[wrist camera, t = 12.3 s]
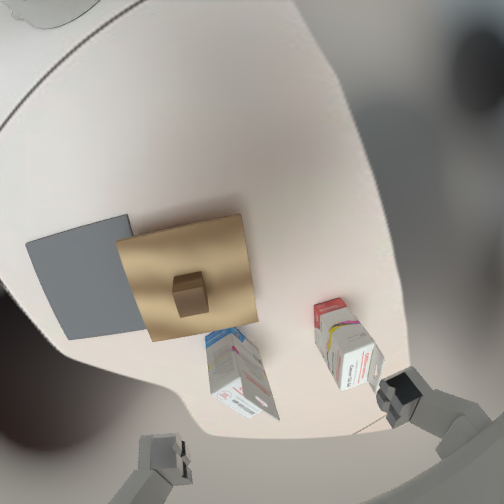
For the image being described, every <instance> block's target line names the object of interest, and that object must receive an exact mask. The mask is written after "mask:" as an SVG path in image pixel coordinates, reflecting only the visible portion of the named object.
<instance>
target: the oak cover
mask: <svg viewBox="0 0 504 504" xmlns="http://www.w3.org/2000/svg"><path fill="white" fill-rule="evenodd" d="M115 243H116V246H117V249H118V252H119V255H120V258H121V261H122V264H123V267H124V270H125V273H126V276H127V279H128V281H129V284H130V287H131V290H132V292H133V295H134V298H135V300H136V303H137V306H138V308H139V311H140V313H141V316H142V318H143V321H144V323H145V325H146V328H147V330H148V333H149V335H150V337H151V339H152V342H156V341H163V340H169V339H174V338H180V337H186V336H191V335H197V334H202V333H207V332H212V331H217V330H222V329H227V328H232V327H236V326H241V325H246V324H250V323H255V322H259V321H258V315H257V309H256V303H255V297H254V291H253V285H252V279H251V273H250V267H249V261H248V255H247V248H246V242H245V236H244V230H243V224H242V218H241V214H235V215H230V216H225V217H220V218H215V219H210V220H205V221H200V222H195V223H190V224H186V225H181V226H176V227H172V228H167V229H163V230H158V231H154V232H149V233H145V234H140V235H136V236H132V237H128V238H123V239H119V240H117V241H116V242H115Z"/></svg>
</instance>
